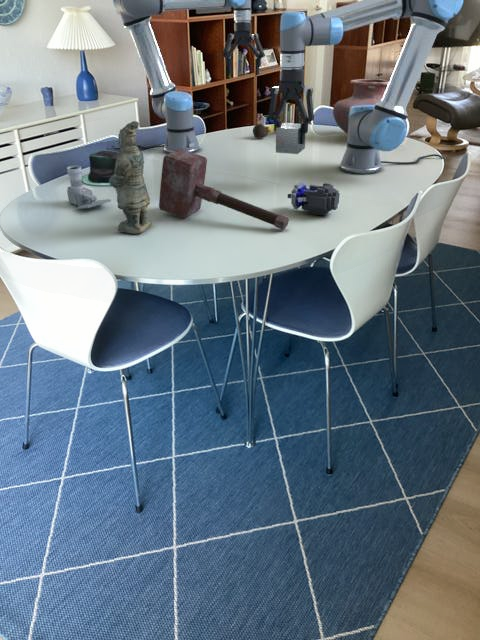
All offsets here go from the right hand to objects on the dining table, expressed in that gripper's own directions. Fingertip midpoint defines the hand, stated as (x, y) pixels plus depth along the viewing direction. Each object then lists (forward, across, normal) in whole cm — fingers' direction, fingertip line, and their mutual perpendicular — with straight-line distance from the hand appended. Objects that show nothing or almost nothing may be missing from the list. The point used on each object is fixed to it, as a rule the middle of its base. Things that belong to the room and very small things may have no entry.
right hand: (290, 142), depth 186 cm
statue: (+15, -30, -53) cm, 63 cm away
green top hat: (+15, -68, -11) cm, 70 cm away
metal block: (+3, 0, 0) cm, 3 cm away
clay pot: (+16, +9, +81) cm, 83 cm away
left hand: (-12, -47, +72) cm, 87 cm away
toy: (+15, +15, -23) cm, 31 cm away
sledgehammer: (+15, -8, -38) cm, 42 cm away
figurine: (+16, -35, +77) cm, 86 cm away
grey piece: (+15, -56, -41) cm, 71 cm away
